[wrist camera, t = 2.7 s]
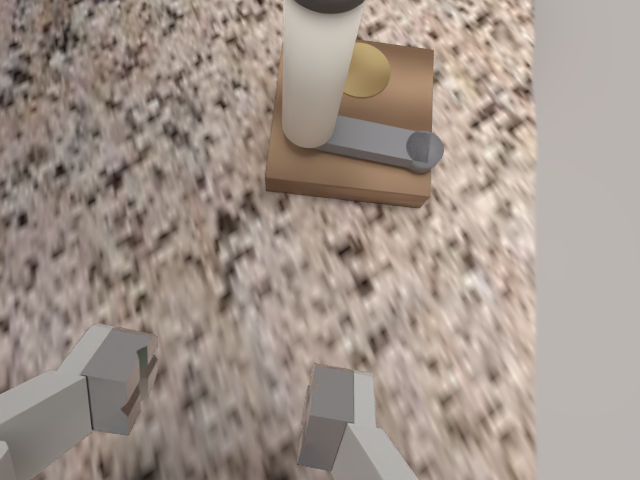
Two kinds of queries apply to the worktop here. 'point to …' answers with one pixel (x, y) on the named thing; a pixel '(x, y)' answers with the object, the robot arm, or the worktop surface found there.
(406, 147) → the hinged leg
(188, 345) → the worktop surface
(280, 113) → the wooden base
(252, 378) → the worktop surface
